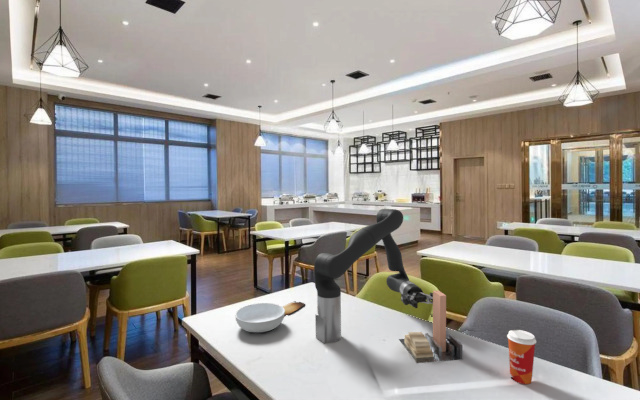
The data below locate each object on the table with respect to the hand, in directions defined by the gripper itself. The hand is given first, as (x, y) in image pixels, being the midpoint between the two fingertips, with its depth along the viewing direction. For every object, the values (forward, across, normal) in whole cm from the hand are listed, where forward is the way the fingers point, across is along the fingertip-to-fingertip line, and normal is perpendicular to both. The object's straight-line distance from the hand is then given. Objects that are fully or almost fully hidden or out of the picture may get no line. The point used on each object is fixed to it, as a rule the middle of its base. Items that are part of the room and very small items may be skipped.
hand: (427, 305), depth 128 cm
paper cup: (+29, +17, +13) cm, 36 cm away
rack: (+10, -4, +13) cm, 17 cm away
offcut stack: (+10, -8, +12) cm, 17 cm away
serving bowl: (-20, -65, +14) cm, 70 cm away
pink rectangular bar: (+10, 0, +12) cm, 15 cm away
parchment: (-38, -54, +14) cm, 67 cm away
